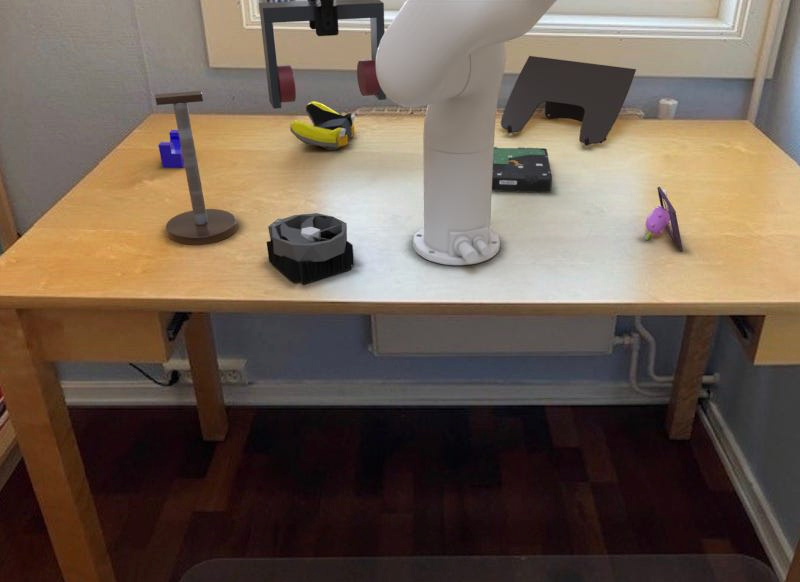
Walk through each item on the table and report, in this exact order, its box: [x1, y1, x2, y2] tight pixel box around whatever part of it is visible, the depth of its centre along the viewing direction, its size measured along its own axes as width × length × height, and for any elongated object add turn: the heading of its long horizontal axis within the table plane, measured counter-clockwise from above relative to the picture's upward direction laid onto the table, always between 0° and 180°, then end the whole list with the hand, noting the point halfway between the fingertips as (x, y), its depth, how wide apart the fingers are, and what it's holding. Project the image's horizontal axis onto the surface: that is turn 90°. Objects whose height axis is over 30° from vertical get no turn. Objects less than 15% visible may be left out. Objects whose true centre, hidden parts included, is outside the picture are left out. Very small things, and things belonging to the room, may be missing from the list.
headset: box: [258, 0, 387, 109], centre depth 116 cm, size 5×17×14 cm, turn 111°
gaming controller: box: [289, 101, 356, 151], centre depth 148 cm, size 15×6×10 cm
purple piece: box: [644, 186, 684, 252], centre depth 116 cm, size 7×5×9 cm
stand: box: [154, 90, 238, 246], centre depth 111 cm, size 10×10×20 cm
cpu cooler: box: [266, 212, 355, 285], centre depth 106 cm, size 10×6×10 cm
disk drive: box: [492, 146, 553, 193], centre depth 136 cm, size 10×3×15 cm
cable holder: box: [157, 129, 185, 169], centre depth 139 cm, size 8×4×4 cm, turn 1°
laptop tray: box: [500, 55, 637, 150], centre depth 158 cm, size 23×23×9 cm
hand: (323, 30), depth 114 cm, fingers closed on headset, 3 cm apart
